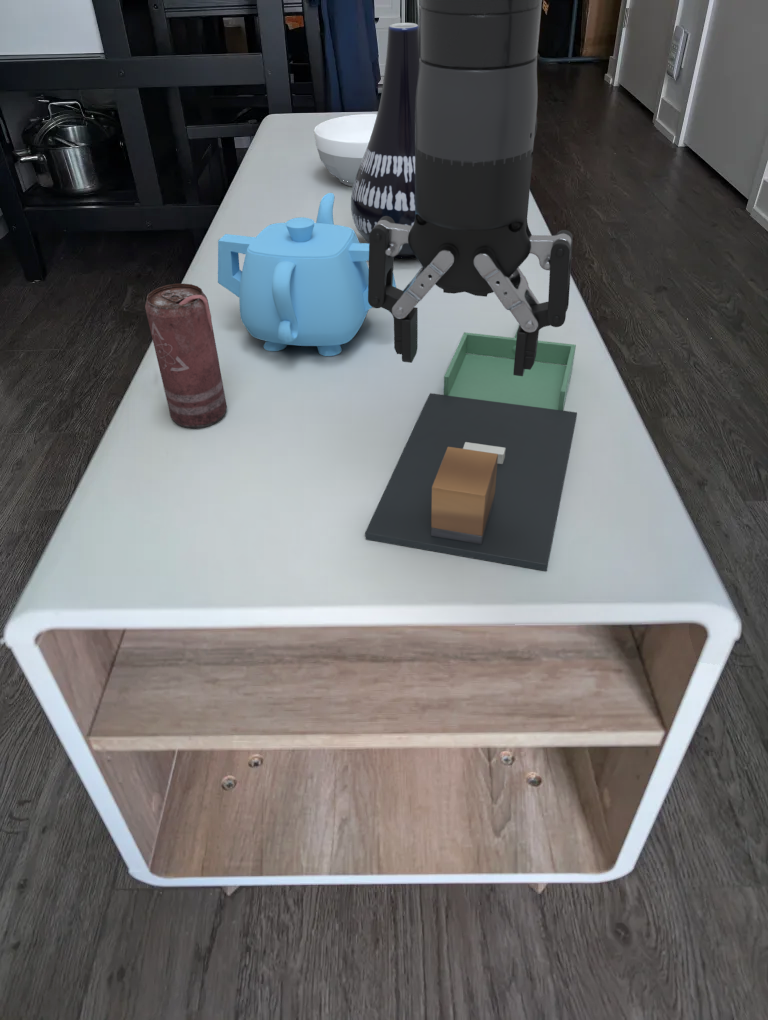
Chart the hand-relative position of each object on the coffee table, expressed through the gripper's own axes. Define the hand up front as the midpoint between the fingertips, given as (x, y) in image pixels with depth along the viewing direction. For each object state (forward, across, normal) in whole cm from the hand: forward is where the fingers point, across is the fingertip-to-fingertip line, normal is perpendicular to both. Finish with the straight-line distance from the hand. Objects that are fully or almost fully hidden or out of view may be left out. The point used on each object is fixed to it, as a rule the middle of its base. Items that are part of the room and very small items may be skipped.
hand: (464, 364), depth 61 cm
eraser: (+16, 0, 0) cm, 16 cm away
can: (+17, -31, +12) cm, 37 cm away
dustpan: (+17, +1, +30) cm, 35 cm away
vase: (+17, -20, +61) cm, 66 cm away
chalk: (+16, +1, +10) cm, 19 cm away
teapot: (+17, -26, +33) cm, 45 cm away
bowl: (+17, -36, +92) cm, 100 cm away
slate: (+17, +1, +8) cm, 19 cm away
